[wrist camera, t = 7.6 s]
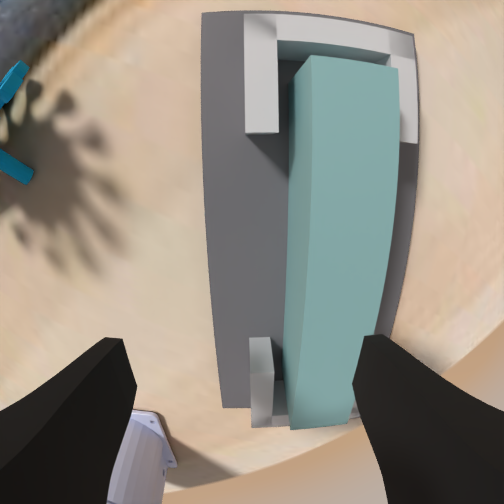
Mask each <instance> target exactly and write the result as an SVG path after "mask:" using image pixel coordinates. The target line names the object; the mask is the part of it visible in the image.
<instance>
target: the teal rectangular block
mask: <svg viewBox="0 0 504 504" xmlns="http://www.w3.org/2000/svg"><path fill="white" fill-rule="evenodd" d="M288 92H289V191H288V237H287V268H286V293H285V314H284V333H283V350H282V366H281V368H282V375H283V382H284V389H285V395H286V402H287V409H288V416H289V423H290V430H297V429H308V428H317V427H326V426H334V425H341V424H347V422H348V419H349V416H350V413H351V410H352V407H353V404H354V401H355V396H354V391H353V387H352V381H353V378H354V374H355V371H356V367H357V363H358V359H359V355H360V351H361V347H362V343H363V339H364V336H367V335H373V334H374V330H375V326H376V322H377V317H378V313H379V308H380V303H381V298H382V293H383V288H384V283H385V277H386V271H387V266H388V259H389V253H390V246H391V239H392V231H393V223H394V214H395V205H396V194H397V181H398V165H399V138H400V102H399V76H398V68H393V67H389V66H384V65H379V64H374V63H368V62H362V61H356V60H349V59H342V58H335V57H326V56H316V55H310V57H309V58H308V59H307V60H306V62H305V63H304V64H303V65H302V67H301V68H300V69H299V70H298V72H297V73H296V74H295V75H294V77H293V78H292V79H291V81H290V82H289V83H288Z"/></svg>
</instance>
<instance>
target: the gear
mask: <svg viewBox="0 0 504 504" xmlns="http://www.w3.org/2000/svg"><path fill="white" fill-rule="evenodd" d="M28 69H29V67H28V66H27V65H26V64H25V63H24V62H23V61H21V60H20V61H19V62H18V63H17V64H16V65H15V66H13V67H12V68H11V69H10V71H9V72H8V73H7V74H6V76H5V77H4V78H3V80H2V81H1V83H0V109H1V107H2V106H3V105H4V103H8V102H9V101H10V99H11V98H12V97H13V95H14V94H15V93H16V91H17V90H18V88H19V87H20V85H21V84H22V82H23V81H24V80H22V78H23V77H24V75H25V74H26V73H27V71H28ZM0 170H1V171H3V172H5V173H6V174H8V175H10V176H11V177H13V178H15V179H16V180H18V181H20V182H21V183H23V184H25V185H27V184H28V183H29V181H30V180H31V178H32V176H33V172H34V170H32V169H31V168H29V167H28V166H26V165H25V164H23V163H22V162H20V161H18V160H17V159H15V158H14V157H12V156H11V155H9V154H8V153H6V152H5V151H3V150H2V149H0Z"/></svg>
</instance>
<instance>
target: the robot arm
mask: <svg viewBox="0 0 504 504" xmlns="http://www.w3.org/2000/svg"><path fill="white" fill-rule="evenodd" d="M352 387H353V391H354V396H355V400H356V404H357V408H358V411H359V414H360V417H361V419H362V422H363V425H364V427H365V430H366V432H367V435H368V438H369V440H370V443H371V445H372V448H373V451H374V453H375V456H376V459H377V461H378V464H379V467H380V470H381V473H382V476H383V481H384V486H385V490H386V495H387V500H388V504H504V411H501V410H499V409H497V408H495V407H492V406H490V405H488V404H486V403H484V402H482V401H481V400H479V399H476V398H475V397H473V396H471V395H469V394H468V393H466V392H464V391H463V390H461V389H459V388H458V387H456V386H455V385H453V384H452V383H450V382H448V381H447V380H445V379H444V378H442V377H441V376H440V375H438V374H437V373H435V372H434V371H432V370H431V369H430V368H428V367H427V366H426V365H424V364H423V363H421V362H420V361H419V360H417V359H416V358H415V357H413V356H412V355H411V354H409V353H408V352H407V351H405V350H404V349H403V348H401V347H400V346H399V345H397V344H396V343H395V342H393V341H392V340H391V339H389V338H388V337H386V336H385V335H383V334H377V335H367V336H364V339H363V343H362V347H361V351H360V355H359V359H358V363H357V367H356V371H355V374H354V378H353V381H352ZM136 390H137V384H136V381H135V378H134V375H133V372H132V369H131V366H130V363H129V359H128V356H127V353H126V349H125V346H124V342H123V339H120V338H108V337H105V338H103V339H102V340H100V341H99V342H97V343H96V344H95V345H93V346H92V347H91V348H90V349H88V350H87V351H86V352H84V353H83V354H82V355H81V356H79V357H78V358H77V359H76V360H74V361H73V362H72V363H70V364H69V365H68V366H67V367H65V368H64V369H63V370H62V371H60V372H59V373H58V374H56V375H55V376H54V377H52V378H51V379H50V380H48V381H47V382H45V383H44V384H43V385H41V386H40V387H38V388H37V389H36V390H34V391H33V392H31V393H30V394H28V395H27V396H25V397H24V398H22V399H21V400H19V401H17V402H16V403H14V404H12V405H10V406H9V407H7V408H5V409H3V410H1V411H0V504H162V498H163V492H164V486H165V480H166V474H167V469H168V467H170V468H176V467H177V465H178V464H177V461H176V459H175V457H174V454H173V452H172V450H171V447H170V445H169V443H168V440H167V438H166V435H165V433H164V430H163V428H162V425H161V422H160V420H159V417H158V415H157V414H156V413H153V412H147V411H138V410H133V405H134V400H135V395H136Z"/></svg>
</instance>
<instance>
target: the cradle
mask: <svg viewBox="0 0 504 504" xmlns="http://www.w3.org/2000/svg"><path fill="white" fill-rule="evenodd" d="M310 55H316V56H326V57H335V58H342V59H349V60H356V61H362V62H368V63H374V64H379V65H384V66H389V67H393V68H398V76H399V102H400V138H399V165H398V181H397V194H396V205H395V214H394V223H393V231H392V239H391V246H390V253H389V259H388V266H387V271H386V277H385V283H384V288H383V293H382V298H381V303H380V308H379V313H378V317H377V322H376V326H375V330H374V334H373V335H377V334H383V335H385V336H386V337H388V338H390V335H391V331H392V327H393V323H394V319H395V315H396V311H397V307H398V303H399V298H400V294H401V289H402V284H403V279H404V274H405V269H406V264H407V258H408V252H409V246H410V239H411V232H412V225H413V217H414V209H415V199H416V188H417V176H418V159H419V87H418V70H417V58H416V48H415V40H414V34H412V33H409V32H406V31H402V30H398V29H395V28H391V27H387V26H382V25H378V24H374V23H369V22H364V21H359V20H354V19H348V18H342V17H335V16H328V15H320V14H311V13H300V12H286V11H220V12H206V13H202V21H201V127H202V161H203V185H204V206H205V223H206V239H207V254H208V268H209V281H210V293H211V304H212V315H213V326H214V336H215V346H216V355H217V364H218V373H219V382H220V390H221V398H222V406H223V408H251V424H252V428H261V427H281V426H290V423H289V416H288V409H287V402H286V395H285V389H284V382H283V375H282V368H281V366H282V350H283V333H284V314H285V293H286V268H287V237H288V191H289V92H288V83H289V82H290V81H291V79H292V78H293V77H294V75H295V74H296V73H297V72H298V70H299V69H300V68H301V67H302V65H303V64H304V63H305V62H306V60H307V59H308V58H309V57H310ZM358 417H360V414H359V411H358V408H357V404H356V400H355V401H354V404H353V407H352V410H351V413H350V416H349V419H352V418H358Z"/></svg>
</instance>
